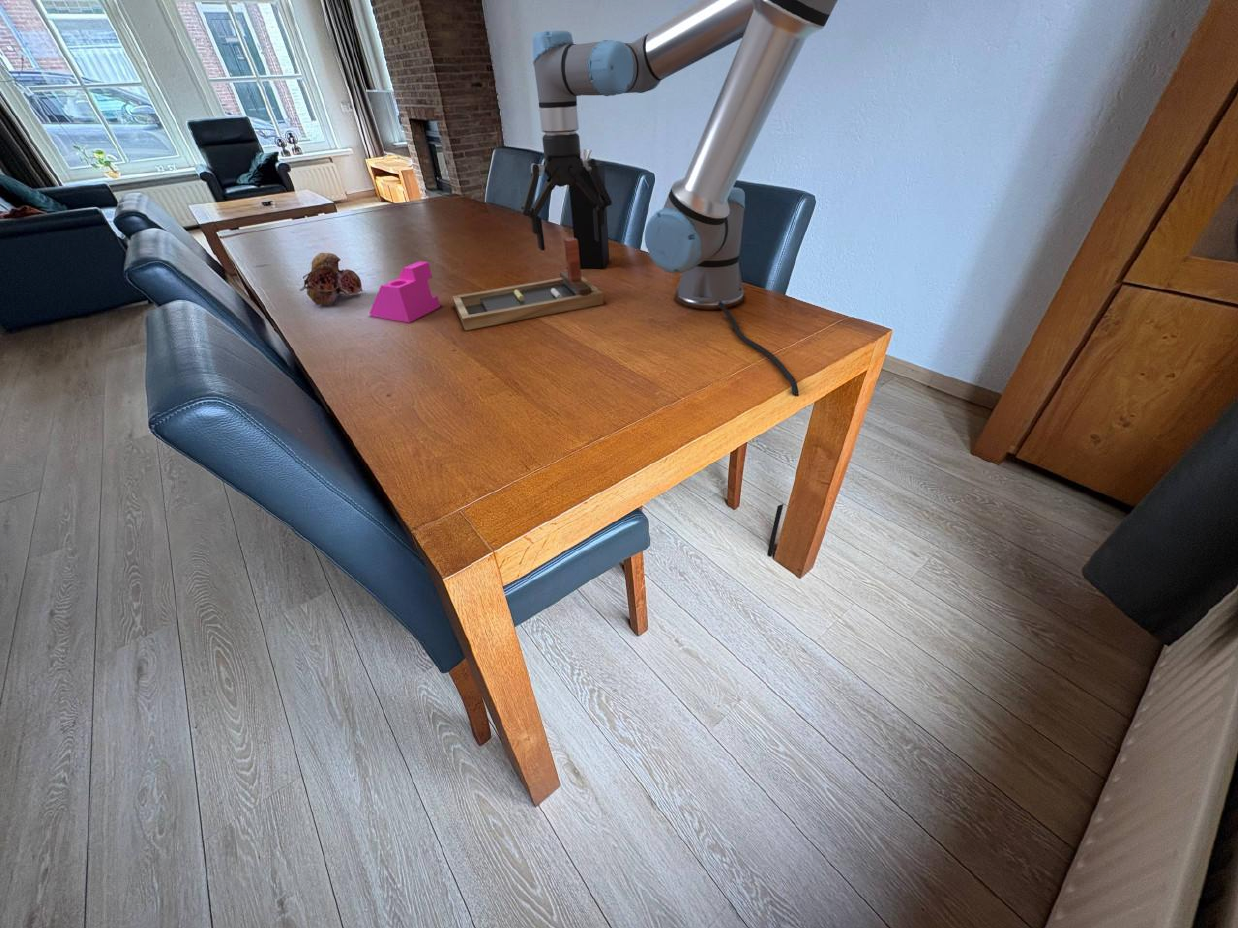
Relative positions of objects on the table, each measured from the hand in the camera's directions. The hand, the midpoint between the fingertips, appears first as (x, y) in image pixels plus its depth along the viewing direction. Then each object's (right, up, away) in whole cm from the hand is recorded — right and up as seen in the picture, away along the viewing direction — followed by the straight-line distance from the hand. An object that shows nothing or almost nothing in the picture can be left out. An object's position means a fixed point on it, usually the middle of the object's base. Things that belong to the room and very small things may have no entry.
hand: (570, 245), depth 112 cm
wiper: (+1, -8, +6) cm, 10 cm away
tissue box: (+4, +7, +28) cm, 29 cm away
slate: (-10, -13, +4) cm, 17 cm away
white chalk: (-4, -10, +3) cm, 11 cm away
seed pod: (-61, -9, +13) cm, 63 cm away
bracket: (-39, -14, +4) cm, 42 cm away
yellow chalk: (-12, -11, +3) cm, 17 cm away
